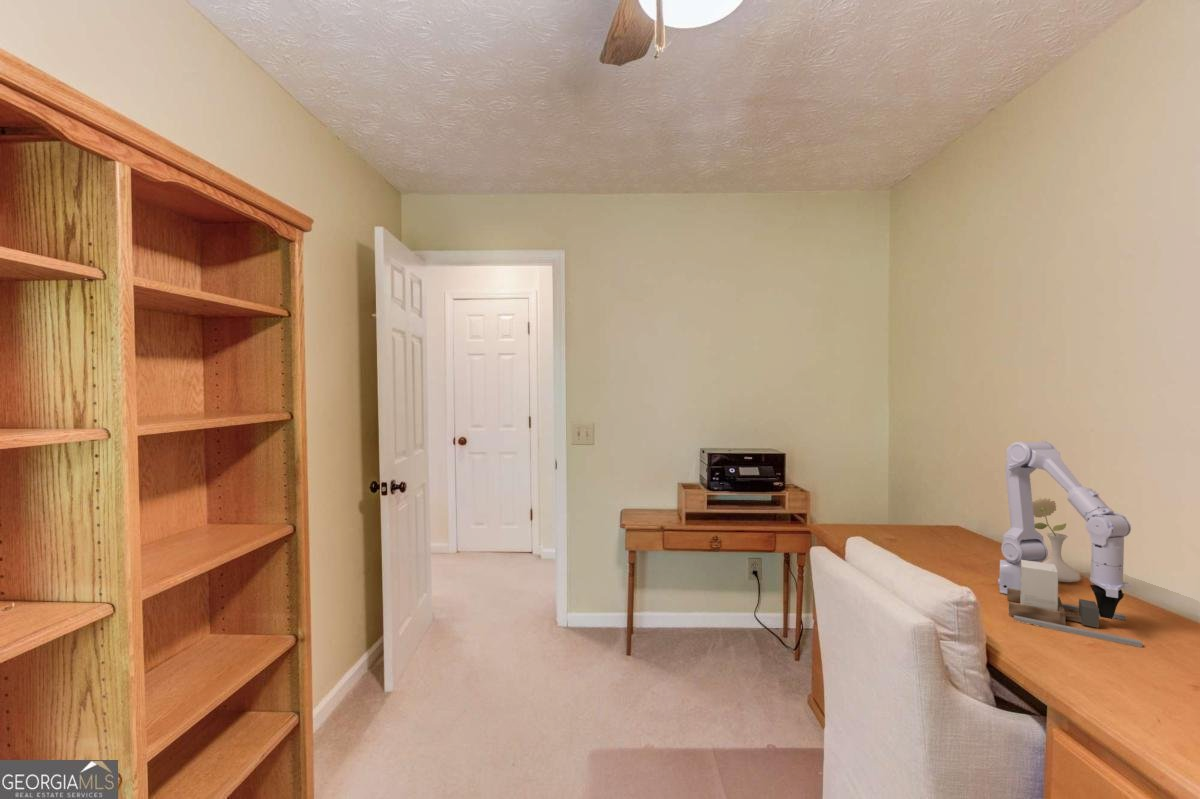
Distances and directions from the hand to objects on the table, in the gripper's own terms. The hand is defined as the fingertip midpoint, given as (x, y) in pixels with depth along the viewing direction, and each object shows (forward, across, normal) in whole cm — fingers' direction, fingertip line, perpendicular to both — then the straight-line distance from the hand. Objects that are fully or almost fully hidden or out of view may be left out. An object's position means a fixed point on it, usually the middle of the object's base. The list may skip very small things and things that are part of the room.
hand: (1105, 617), depth 130 cm
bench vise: (+2, 0, +10) cm, 11 cm away
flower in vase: (+3, +36, +7) cm, 37 cm away
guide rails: (+2, 0, +7) cm, 7 cm away
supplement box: (+3, +1, +13) cm, 13 cm away
